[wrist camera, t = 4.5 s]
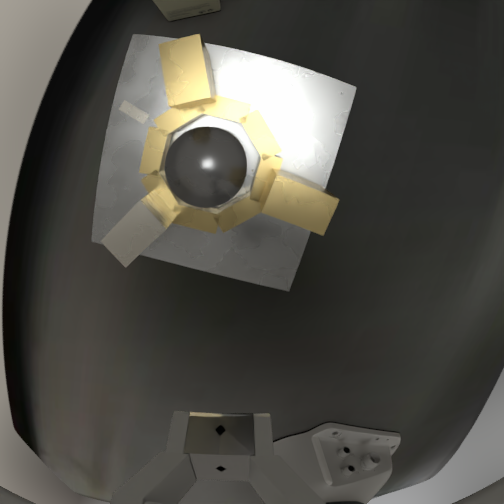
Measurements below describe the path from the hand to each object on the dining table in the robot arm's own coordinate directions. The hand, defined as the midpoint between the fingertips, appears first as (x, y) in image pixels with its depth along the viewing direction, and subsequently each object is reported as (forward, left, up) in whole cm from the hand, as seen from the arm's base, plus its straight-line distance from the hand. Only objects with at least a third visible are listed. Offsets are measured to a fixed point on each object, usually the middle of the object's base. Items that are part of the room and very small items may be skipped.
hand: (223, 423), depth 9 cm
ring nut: (+2, -6, -16) cm, 17 cm away
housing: (+3, -5, -18) cm, 19 cm away
